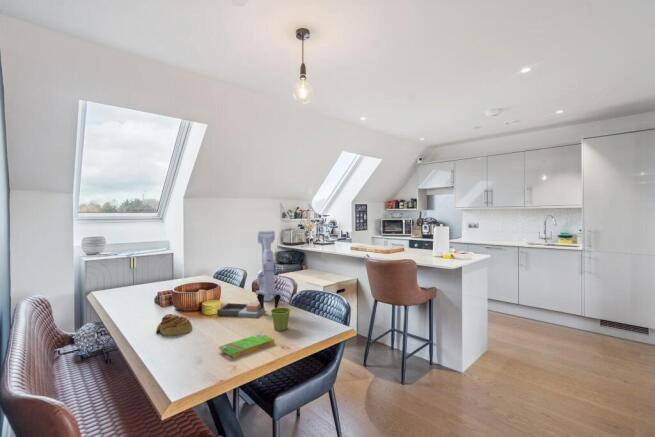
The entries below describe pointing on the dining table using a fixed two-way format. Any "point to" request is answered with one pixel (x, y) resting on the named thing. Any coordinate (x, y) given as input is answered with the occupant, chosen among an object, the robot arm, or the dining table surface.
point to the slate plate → (250, 313)
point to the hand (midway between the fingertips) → (269, 308)
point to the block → (253, 306)
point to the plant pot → (280, 318)
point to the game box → (247, 345)
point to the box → (230, 309)
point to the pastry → (174, 325)
